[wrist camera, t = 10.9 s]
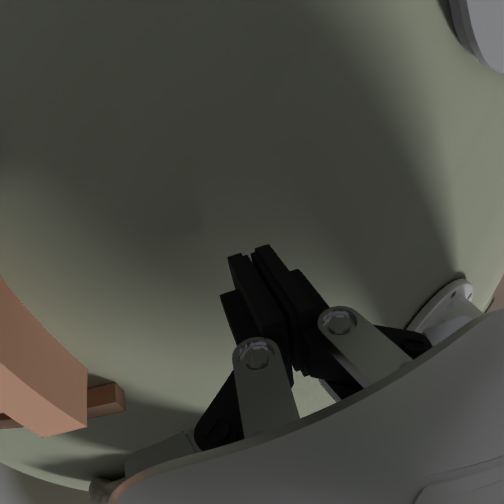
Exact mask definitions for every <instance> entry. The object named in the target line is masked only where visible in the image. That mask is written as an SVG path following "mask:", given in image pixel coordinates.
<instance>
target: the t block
mask: <svg viewBox="0 0 504 504" xmlns="http://www.w3.org/2000/svg"><path fill="white" fill-rule="evenodd" d="M87 374H88V369H87V368H86V367H84V366H83V365H82V364H81V363H80V362H79V361H78V360H77V359H75V358H74V357H73V356H72V355H71V354H70V353H69V352H68V351H67V350H66V349H65V348H64V347H63V346H62V345H61V344H60V343H59V342H58V341H57V340H56V339H55V338H54V337H53V336H52V335H51V334H50V333H49V332H48V331H47V330H46V329H45V328H44V327H43V326H42V325H41V324H40V323H39V322H38V321H37V320H36V319H35V317H34V316H33V315H32V314H31V313H30V312H29V311H28V310H27V308H26V307H25V306H24V305H23V304H22V303H21V301H20V300H19V299H18V298H17V297H16V295H15V294H14V293H13V292H12V290H11V289H10V288H9V287H8V285H7V284H6V283H5V281H4V280H3V279H2V278H1V276H0V413H5V414H6V415H8V416H9V417H10V418H12V419H13V420H15V421H16V422H18V423H19V424H21V425H22V426H24V427H26V428H27V429H29V430H30V431H32V432H34V433H35V434H37V435H39V436H40V437H42V438H43V437H48V436H52V435H57V434H61V433H65V432H69V431H73V430H77V429H81V428H85V427H87Z"/></svg>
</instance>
